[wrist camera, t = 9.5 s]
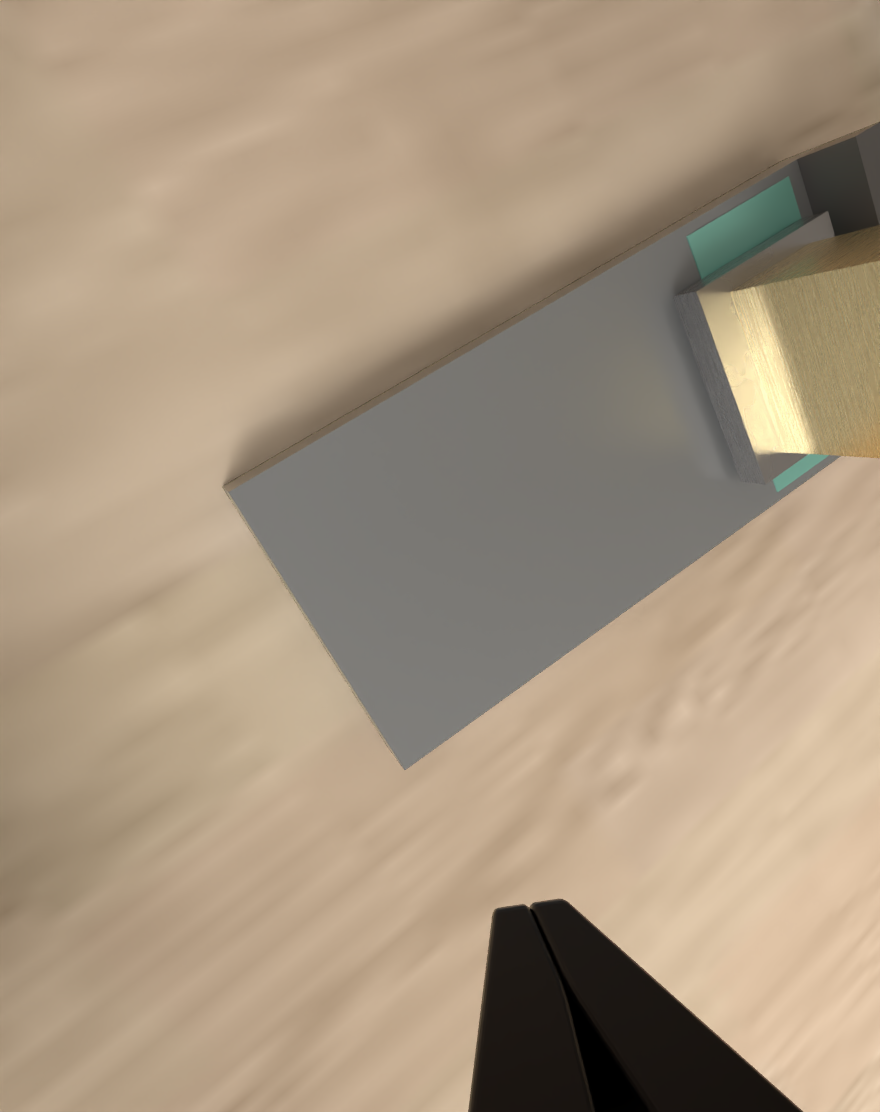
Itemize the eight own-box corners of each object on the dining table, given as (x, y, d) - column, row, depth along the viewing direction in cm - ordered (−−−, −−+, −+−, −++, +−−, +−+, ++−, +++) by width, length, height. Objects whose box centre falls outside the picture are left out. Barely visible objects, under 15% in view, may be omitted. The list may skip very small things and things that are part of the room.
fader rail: (388, 748, 22) (430, 804, 19) (222, 486, 19) (238, 501, 16) (858, 415, 27) (955, 415, 24) (781, 160, 24) (881, 121, 21)
